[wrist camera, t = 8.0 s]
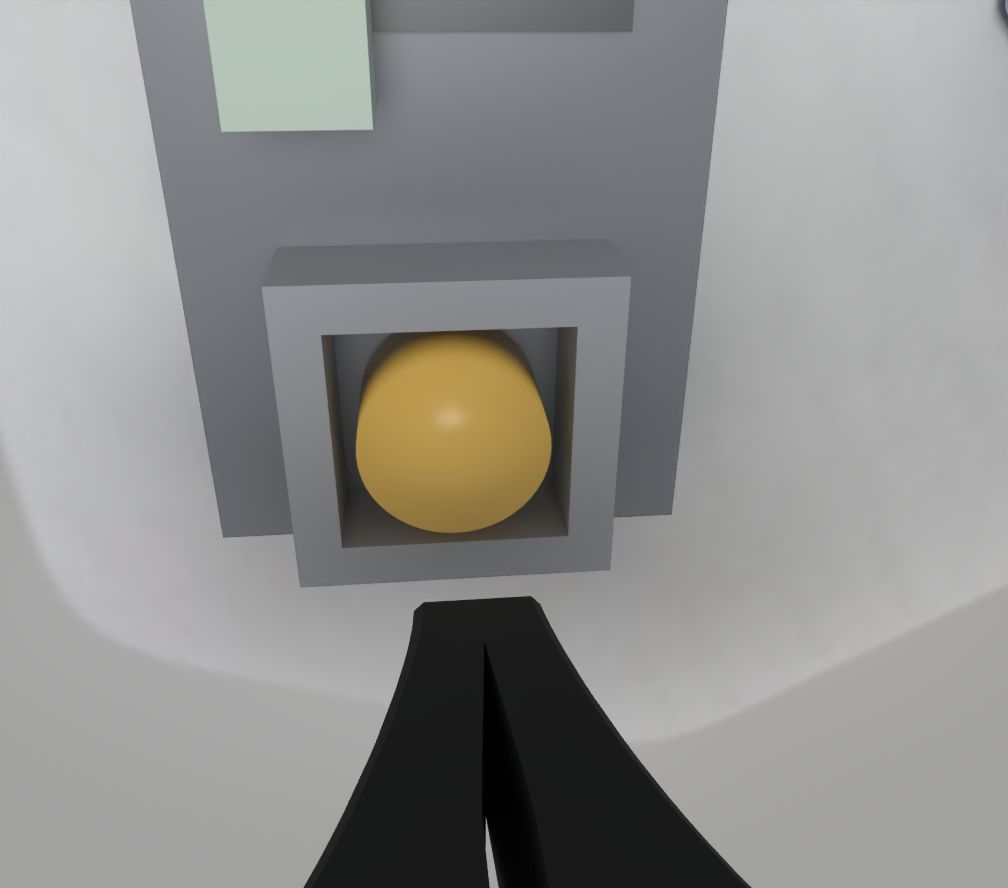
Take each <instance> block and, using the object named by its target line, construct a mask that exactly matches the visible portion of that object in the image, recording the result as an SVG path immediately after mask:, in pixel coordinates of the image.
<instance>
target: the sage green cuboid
mask: <svg viewBox="0 0 1008 888" xmlns="http://www.w3.org/2000/svg"><path fill="white" fill-rule="evenodd" d="M203 3H204V10H205V18H206V25H207V32H208V39H209V46H210V53H211V61H212V68H213V75H214V82H215V89H216V97H217V104H218V111H219V118H220V125H221V132H243V131H314V130H373V126H374V119H375V112H376V105H377V99H376V83H375V66H374V49H373V32H372V16H371V0H203Z"/></svg>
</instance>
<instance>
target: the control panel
mask: <svg viewBox="0 0 1008 888" xmlns="http://www.w3.org/2000/svg"><path fill="white" fill-rule="evenodd" d="M130 4H131V10H132V16H133V21H134V27H135V33H136V39H137V44H138V50H139V56H140V62H141V67H142V73H143V79H144V85H145V90H146V96H147V102H148V107H149V113H150V119H151V125H152V130H153V136H154V142H155V148H156V153H157V159H158V165H159V171H160V176H161V182H162V188H163V194H164V199H165V205H166V211H167V217H168V222H169V228H170V234H171V240H172V245H173V251H174V257H175V263H176V268H177V274H178V280H179V286H180V291H181V297H182V303H183V309H184V314H185V320H186V326H187V332H188V337H189V343H190V349H191V355H192V360H193V366H194V372H195V378H196V383H197V389H198V395H199V401H200V406H201V412H202V418H203V424H204V429H205V435H206V441H207V447H208V452H209V458H210V464H211V470H212V475H213V481H214V487H215V493H216V498H217V504H218V510H219V516H220V521H221V527H222V533H223V538H224V537H243V536H263V535H282V534H294V542H295V550H296V558H297V565H298V573H299V581H300V587H315V586H333V585H351V584H368V583H386V582H404V581H421V580H439V579H457V578H475V577H492V576H510V575H528V574H545V573H563V572H581V571H598V570H610V558H611V545H612V531H613V517H632V516H651V515H671V514H672V505H673V496H674V487H675V478H676V469H677V460H678V451H679V442H680V432H681V423H682V414H683V405H684V396H685V387H686V378H687V369H688V360H689V351H690V342H691V332H692V323H693V314H694V305H695V296H696V287H697V278H698V269H699V260H700V251H701V242H702V232H703V223H704V214H705V205H706V196H707V187H708V178H709V169H710V160H711V151H712V142H713V132H714V123H715V114H716V105H717V96H718V87H719V78H720V69H721V60H722V51H723V42H724V33H725V23H726V14H727V5H728V0H371V16H372V32H373V49H374V66H375V83H376V99H377V105H376V112H375V119H374V126H373V130H314V131H243V132H221V125H220V118H219V111H218V104H217V97H216V89H215V82H214V75H213V68H212V61H211V53H210V46H209V39H208V32H207V25H206V18H205V10H204V3H203V0H130ZM492 329H499V330H501V331H503V332H504V333H505V334H506V335H508V336H509V337H510V338H511V339H512V340H513V341H514V342H515V343H516V344H517V345H518V346H519V347H520V349H521V350H522V351H523V353H524V354H525V356H526V358H527V359H528V361H529V363H530V366H531V368H532V371H533V374H534V377H535V381H536V384H537V387H538V391H539V394H540V397H541V401H542V404H543V407H544V411H545V414H546V417H547V421H548V424H549V428H550V433H551V447H552V448H551V457H550V462H549V466H548V469H547V472H546V474H545V477H544V479H543V481H542V483H541V484H540V486H539V488H538V489H537V491H536V492H535V493H534V495H533V496H532V497H531V498H530V499H529V500H528V501H527V502H526V503H525V504H524V505H523V506H522V507H521V508H520V509H519V510H517V511H516V512H515V513H514V514H512V515H510V516H509V517H507V518H506V519H504V520H502V521H500V522H498V523H496V524H493V525H491V526H488V527H485V528H482V529H478V530H473V531H469V532H459V533H442V532H433V531H428V530H424V529H420V528H417V527H414V526H411V525H409V524H407V523H405V522H403V521H401V520H399V519H397V518H396V517H394V516H392V515H391V514H389V513H388V512H387V511H386V510H385V509H383V508H382V507H381V506H380V505H379V504H378V503H377V502H376V501H375V500H374V498H373V497H372V496H371V494H370V493H369V491H368V490H367V489H366V487H365V485H364V483H363V481H362V479H361V476H360V473H359V470H358V466H357V459H356V438H357V427H358V415H359V404H360V392H361V385H362V379H363V376H364V372H365V370H366V367H367V365H368V363H369V361H370V359H371V358H372V356H373V355H374V353H375V351H376V350H377V349H378V348H379V347H380V346H381V344H382V343H383V342H384V341H385V340H387V339H388V338H389V337H390V336H391V335H392V334H394V333H401V332H432V331H462V330H492Z"/></svg>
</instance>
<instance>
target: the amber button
mask: <svg viewBox="0 0 1008 888" xmlns="http://www.w3.org/2000/svg"><path fill="white" fill-rule="evenodd" d="M551 448H552V447H551V433H550V428H549V424H548V421H547V417H546V414H545V411H544V407H543V404H542V401H541V397H540V394H539V391H538V387H537V384H536V381H535V377H534V374H533V371H532V368H531V366H530V363H529V361H528V359H527V358H526V356H525V354H524V353H523V351H522V350H521V349H520V347H519V346H518V345H517V344H516V343H515V342H514V341H513V340H512V339H511V338H510V337H509V336H508V335H506V334H505V333H504V332H503V331H501V330H499V329H492V330H462V331H432V332H401V333H394V334H392V335H391V336H390V337H389V338H388V339H387V340H385V341H384V342H383V343H382V344H381V346H380V347H379V348H378V349H377V350H376V351H375V353H374V355H373V356H372V358H371V359H370V361H369V363H368V365H367V367H366V370H365V372H364V376H363V379H362V385H361V392H360V404H359V415H358V427H357V438H356V459H357V466H358V470H359V473H360V476H361V479H362V481H363V483H364V485H365V487H366V489H367V490H368V491H369V493H370V494H371V496H372V497H373V498H374V500H375V501H376V502H377V503H378V504H379V505H380V506H381V507H382V508H383V509H385V510H386V511H387V512H388V513H389V514H391V515H392V516H394V517H396V518H397V519H399V520H401V521H403V522H405V523H407V524H409V525H411V526H414V527H417V528H420V529H424V530H428V531H433V532H442V533H459V532H469V531H473V530H478V529H482V528H485V527H488V526H491V525H493V524H496V523H498V522H500V521H502V520H504V519H506V518H507V517H509V516H510V515H512V514H514V513H515V512H516V511H517V510H519V509H520V508H521V507H522V506H523V505H524V504H525V503H526V502H527V501H528V500H529V499H530V498H531V497H532V496H533V495H534V493H535V492H536V491H537V489H538V488H539V486H540V484H541V483H542V481H543V479H544V477H545V474H546V472H547V469H548V466H549V462H550V457H551Z"/></svg>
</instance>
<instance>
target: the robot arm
mask: <svg viewBox="0 0 1008 888" xmlns="http://www.w3.org/2000/svg"><path fill="white" fill-rule="evenodd" d="M1005 8H1006V11H1007V14H1008V0H1005ZM486 819H487V825H488V831H489V836H490V842H491V847H492V853H493V858H494V864H495V870H496V875H497V881H498V886H499V888H751V887H750V886H749V885H748V884H747V883H746V882H745V881H744V880H743V879H742V878H741V877H740V876H739V875H738V874H737V873H736V872H735V871H734V870H733V869H732V867H731V866H730V865H729V864H728V863H727V862H726V861H725V860H724V859H723V858H722V857H721V856H720V855H719V853H718V852H716V850H715V849H714V848H713V847H712V846H711V845H710V844H709V843H708V842H707V841H706V840H705V838H704V837H703V836H702V835H701V834H700V833H699V832H698V831H697V830H696V828H695V827H694V826H693V825H692V824H691V823H690V822H689V820H688V819H687V818H686V817H685V816H684V815H683V813H682V812H681V811H680V810H679V809H678V807H677V806H676V805H675V804H674V803H673V802H672V801H671V799H670V798H669V797H668V796H667V794H666V793H665V792H664V791H663V789H662V788H661V787H660V786H659V784H658V783H657V782H656V781H655V779H654V778H653V777H652V776H651V774H650V773H649V772H648V771H647V769H646V768H645V767H644V766H643V765H642V763H641V762H640V761H639V759H638V758H637V757H636V755H635V754H634V753H633V751H632V750H631V749H630V747H629V746H628V745H627V743H626V742H625V741H624V739H623V738H622V737H621V735H620V734H619V732H618V731H617V729H616V728H615V727H614V725H613V724H612V722H611V721H610V720H609V718H608V717H607V715H606V714H605V712H604V711H603V710H602V708H601V707H600V705H599V704H598V702H597V701H596V700H595V698H594V697H593V695H592V694H591V692H590V691H589V689H588V688H587V686H586V685H585V683H584V682H583V680H582V678H581V677H580V675H579V674H578V672H577V670H576V669H575V667H574V666H573V664H572V662H571V661H570V659H569V657H568V656H567V654H566V652H565V651H564V649H563V647H562V646H561V644H560V642H559V640H558V639H557V637H556V635H555V633H554V631H553V629H552V628H551V626H550V624H549V622H548V620H547V618H546V616H545V614H544V612H543V609H542V607H541V605H540V604H539V603H538V602H537V601H536V600H535V599H534V598H532V597H531V596H525V597H508V598H491V599H474V600H457V601H439V602H424V603H423V604H421V605H420V606H419V607H418V608H417V609H416V610H415V611H414V617H413V626H412V632H411V637H410V642H409V646H408V650H407V654H406V658H405V661H404V665H403V668H402V671H401V674H400V678H399V681H398V684H397V687H396V690H395V693H394V696H393V698H392V701H391V704H390V706H389V709H388V712H387V714H386V717H385V719H384V722H383V725H382V727H381V730H380V733H379V735H378V738H377V740H376V743H375V745H374V748H373V750H372V752H371V755H370V757H369V759H368V762H367V764H366V766H365V768H364V770H363V772H362V774H361V776H360V779H359V781H358V783H357V785H356V787H355V789H354V792H353V794H352V796H351V798H350V800H349V802H348V805H347V807H346V809H345V811H344V813H343V815H342V817H341V819H340V821H339V823H338V825H337V827H336V829H335V831H334V833H333V835H332V837H331V839H330V841H329V843H328V845H327V847H326V848H325V850H324V852H323V854H322V856H321V858H320V859H319V861H318V863H317V865H316V867H315V869H314V870H313V872H312V874H311V875H310V877H309V879H308V881H307V883H306V884H305V886H304V888H490V887H489V878H488V869H487V859H486V851H485V847H486V840H485V839H486Z"/></svg>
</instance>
